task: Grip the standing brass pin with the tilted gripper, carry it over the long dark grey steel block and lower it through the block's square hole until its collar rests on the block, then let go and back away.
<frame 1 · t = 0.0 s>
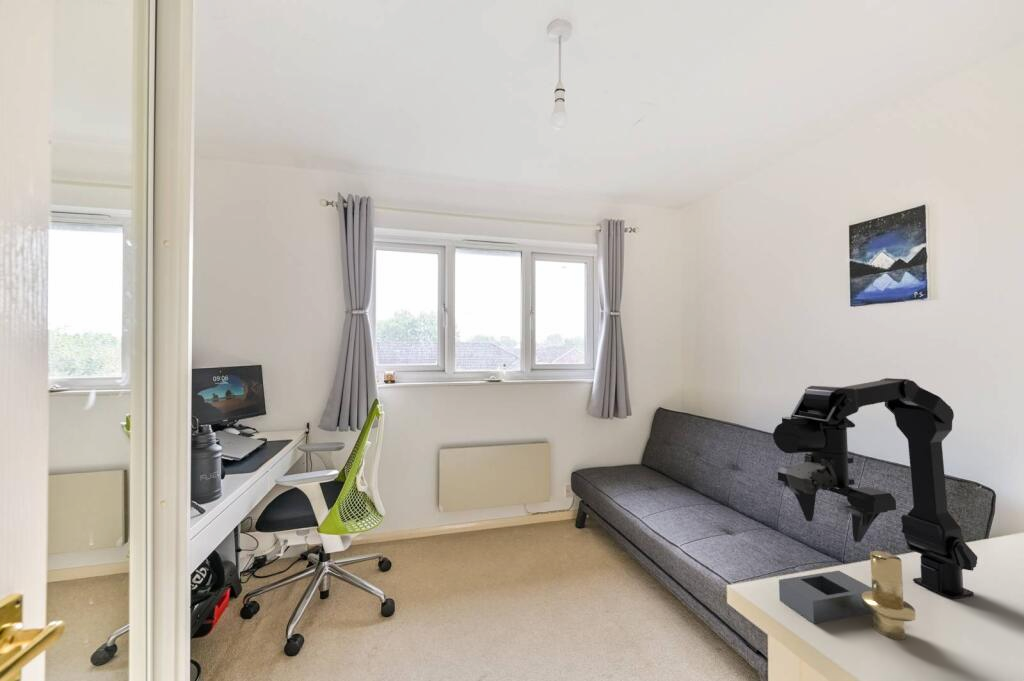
hand: (831, 530, 76), 14 cm above the table, tool pointing down, fingers open, 9 cm apart
brass pin: (888, 631, 68), on the table
steel hitch block: (827, 605, 75), on the table
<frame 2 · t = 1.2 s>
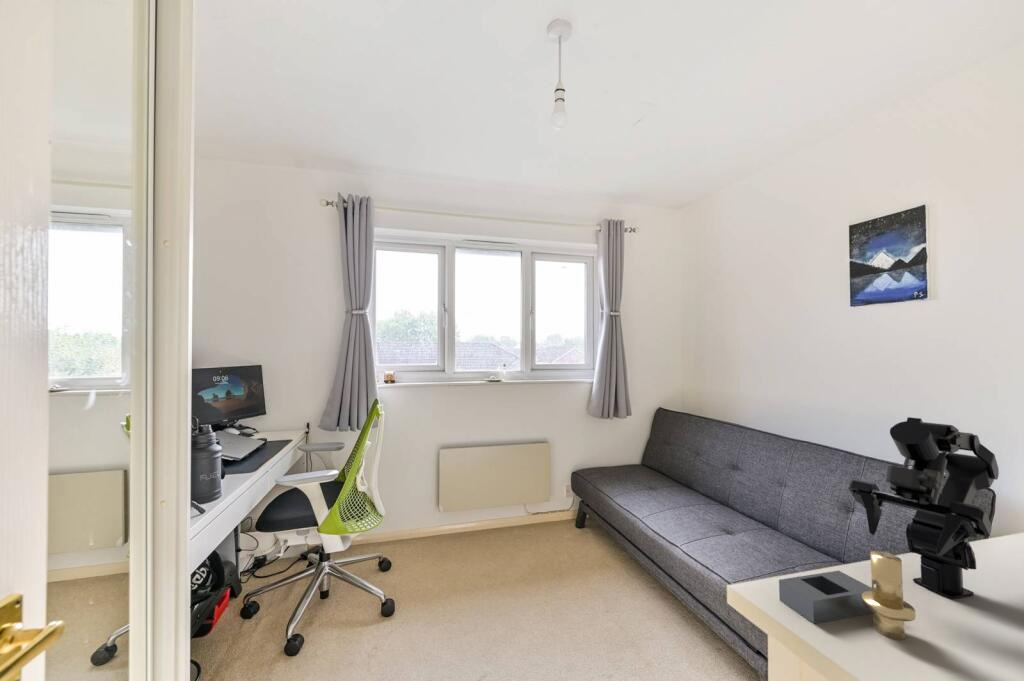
hand: (902, 543, 73), 13 cm above the table, tool tilted 45°, fingers open, 9 cm apart
nothing on the table moved.
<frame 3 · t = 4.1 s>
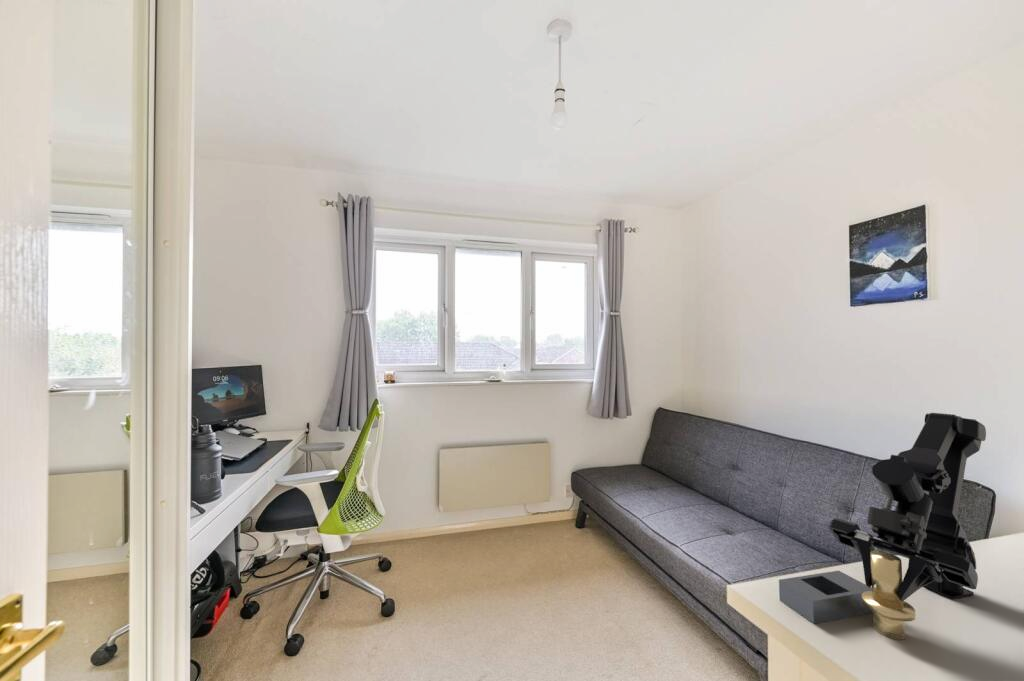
hand: (883, 592, 68), 7 cm above the table, tool tilted 45°, fingers closed on brass pin, 4 cm apart
brass pin: (888, 631, 68), on the table, touching gripper
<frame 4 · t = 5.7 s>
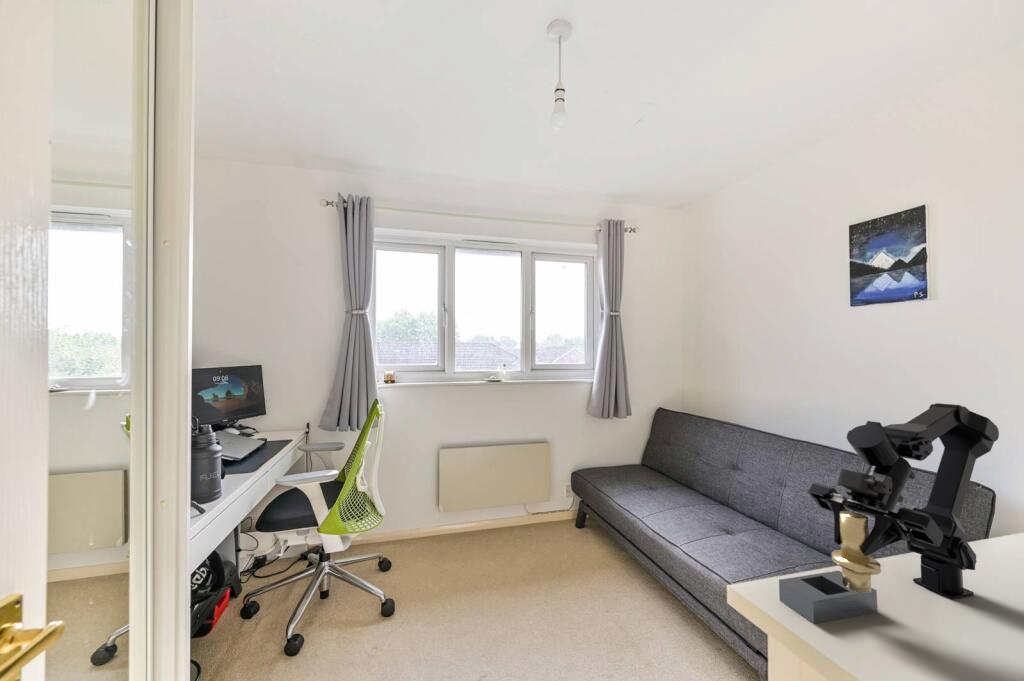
hand: (849, 548, 71), 13 cm above the table, tool tilted 45°, fingers closed on brass pin, 4 cm apart
brass pin: (856, 586, 72), point 6 cm above the table, touching gripper
when the fingers open (8 cm above the table, at t = 7.6 s): brass pin stays where it is, resting on steel hitch block.
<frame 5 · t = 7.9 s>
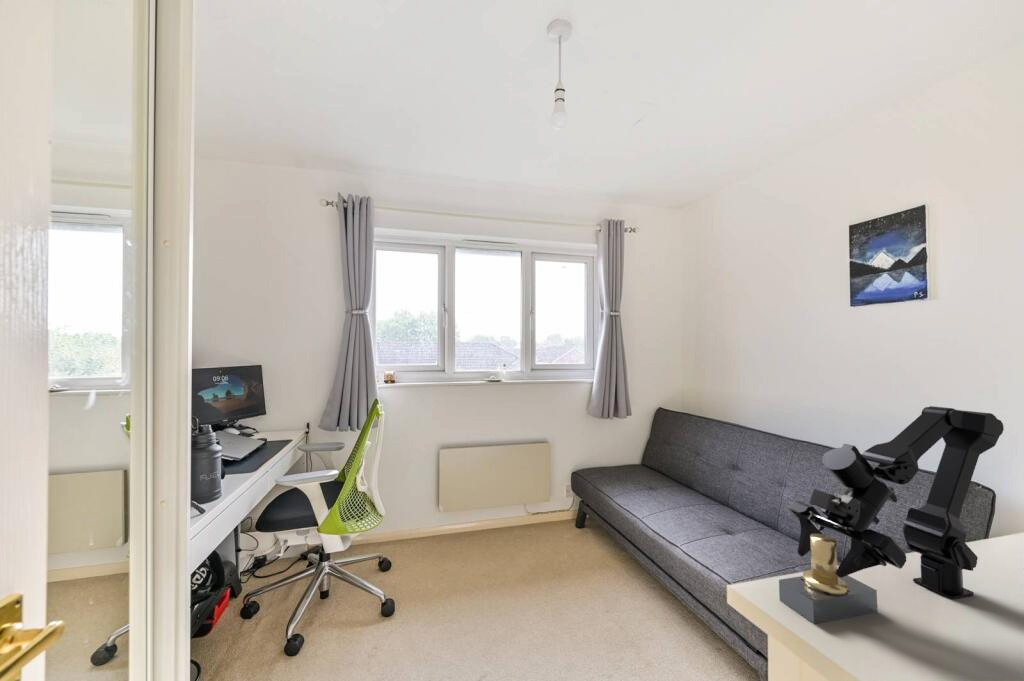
hand: (817, 564, 75), 8 cm above the table, tool tilted 45°, fingers open, 7 cm apart
brass pin: (825, 606, 75), resting on steel hitch block
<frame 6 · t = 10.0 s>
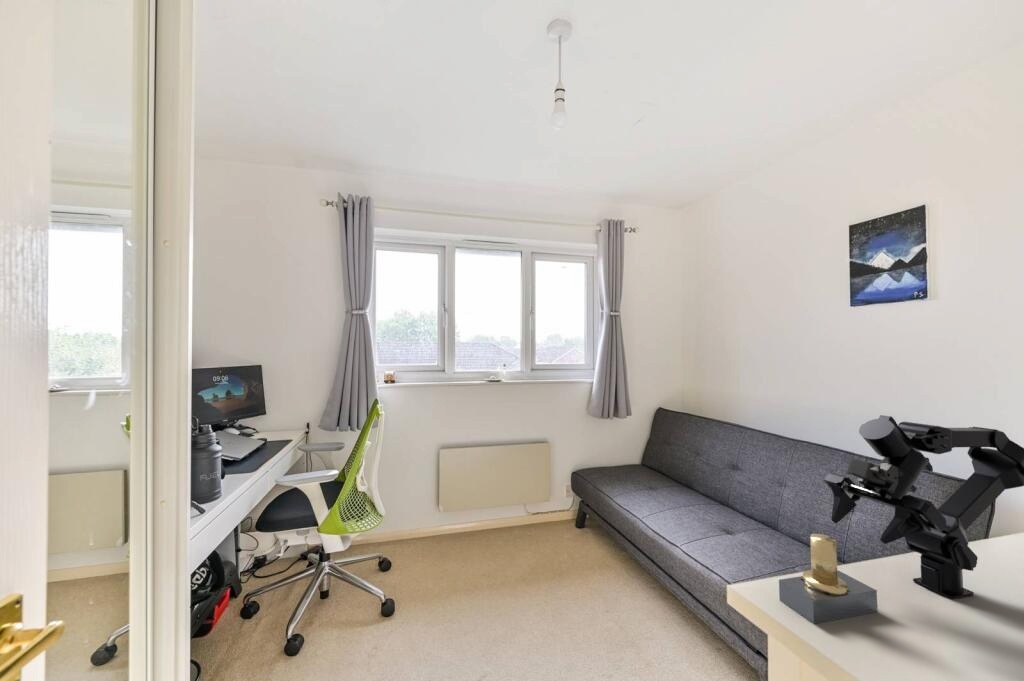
hand: (856, 531, 78), 14 cm above the table, tool tilted 45°, fingers open, 9 cm apart
nothing on the table moved.
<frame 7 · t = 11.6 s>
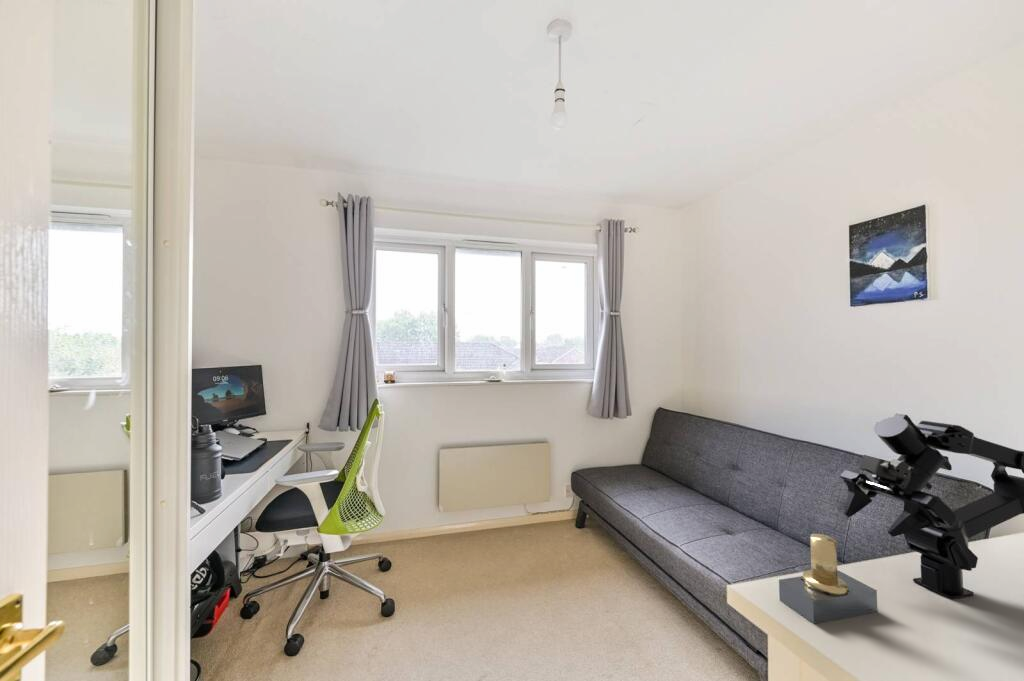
hand: (866, 524, 80), 14 cm above the table, tool tilted 45°, fingers open, 9 cm apart
nothing on the table moved.
at the end: brass pin 0.1 cm off-centre on the steel hitch block, point 0.0 cm above the steel hitch block's base; brass pin tilted 0°; the gripper is holding nothing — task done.
